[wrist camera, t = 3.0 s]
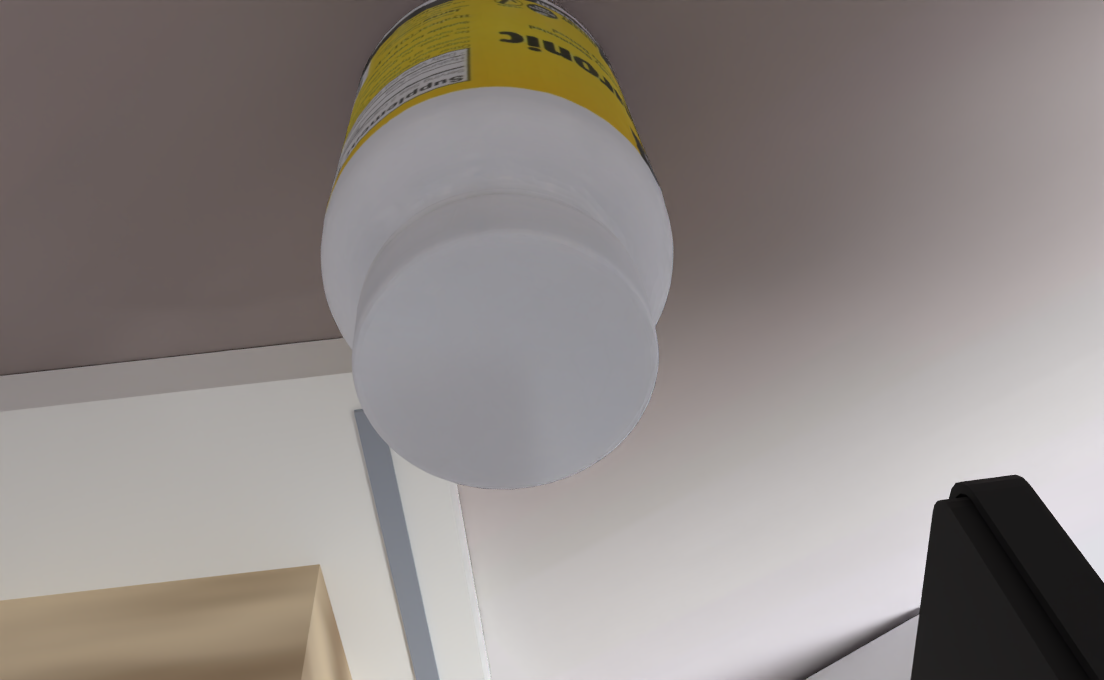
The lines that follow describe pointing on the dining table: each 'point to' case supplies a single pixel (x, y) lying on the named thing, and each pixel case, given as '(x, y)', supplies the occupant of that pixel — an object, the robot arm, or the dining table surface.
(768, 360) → the dining table surface
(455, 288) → the supplement bottle
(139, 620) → the oak plinth
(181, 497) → the white cutting board
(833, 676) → the milk carton
